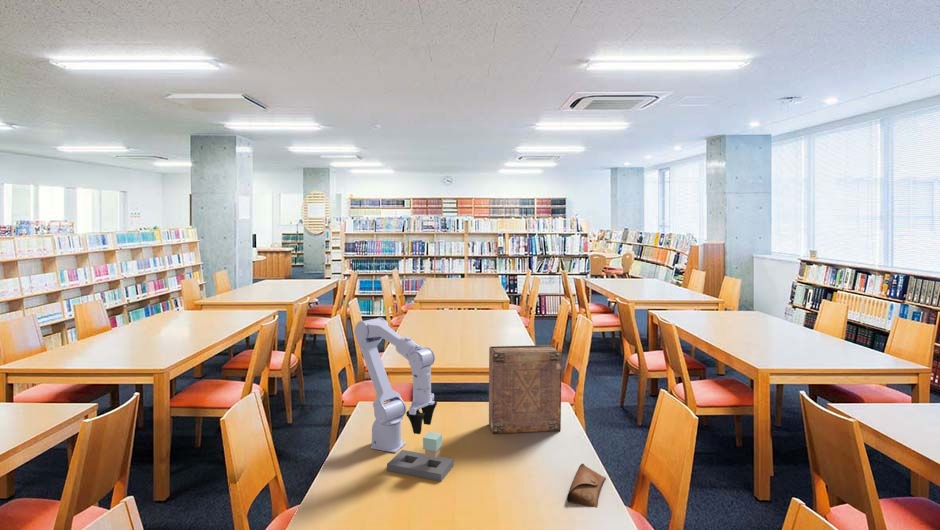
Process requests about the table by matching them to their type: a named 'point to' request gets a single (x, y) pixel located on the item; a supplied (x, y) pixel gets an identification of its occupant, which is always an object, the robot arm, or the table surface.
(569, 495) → the sunglasses case
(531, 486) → the table surface
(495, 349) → the book
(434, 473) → the grey peg board
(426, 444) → the plug
